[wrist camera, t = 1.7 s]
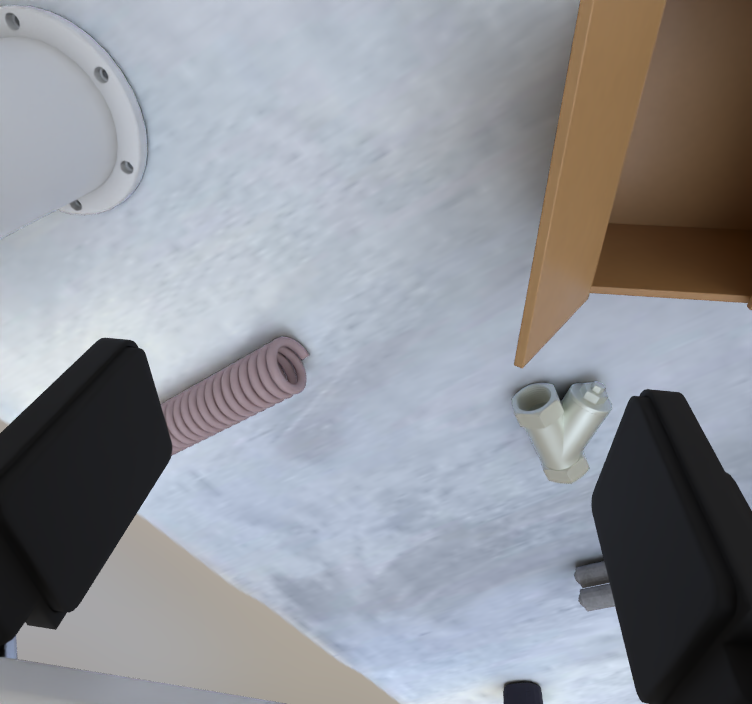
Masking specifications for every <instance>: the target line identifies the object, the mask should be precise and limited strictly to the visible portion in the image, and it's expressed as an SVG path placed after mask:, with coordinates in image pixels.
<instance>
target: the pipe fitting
mask: <svg viewBox="0 0 752 704" xmlns="http://www.w3.org/2000/svg"><path fill="white" fill-rule="evenodd" d="M605 389H606V388H605V385H604V384H602V383H601V382H599V381H594V382H593V383H591V382H588V383H584V384H582V383H575V384H573V385H572V386H571V387H570V389H569V390H568V392H567V393H566V395H565V396H564V398H563V400H562V401H560V398H559V396H558V394H557V391H556V389H555V387H554V385H553V384H548V383H535V384H530V385H528V386H526V387H524V388H523V389H521V390H520V391H519V392H518V393H517V394H516V395H515V396H514V397H513V398H512V399H511V400H512V406H513V410H514V413H515V416H516V418H517V420H518V422H519V424H520V426H521V427H524V428H525V430H526V432H527V434H528V436H529V438H530V440H531V442H532V444H533V446H534V448H535V450H536V452H537V454H538V456H539V458H540V460H541V464H542V467H543V470H544V472H545V474H546V476H547V478H548V480H549V481H552V482H557V483H564V484H572V483H574V482H575V481H577V480H578V479H580V478H581V477H582V476H583V475H584V474H585V473H586V472H587V471H588V470H589V469H590V468H589V465H588V462H587V459H586V457H585V454H584V451H583V449H584V448H585V446H586V445H587V443H588V442H589V441H590V439H591V438H592V436H593V435H594V434H595V432H596V431H597V429H598V428H599V427H600V425H601V424H602V422H603V421H604V420H605V418H606V417H607V415H608V414H609V413H610V411H611V410H612V404H611V402H610V400H609V399H608V395H607V392H606V391H605Z"/></svg>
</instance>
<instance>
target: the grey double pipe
mask: <svg viewBox="0 0 752 704" xmlns="http://www.w3.org/2000/svg"><path fill="white" fill-rule="evenodd" d="M574 576H575V579H576V581H577V582H578V583H579V584H580V585H581V586H582V588H585V589H580V595H579V602H580V604H581V605H582V606H583V607H584V608H585V609H586V610H587V611H592V610H598V609H603V608H608V607H614V606H615V603H614V599H613V595H612V591H611V587H610V584H606V583H609V578H608V574H607V570H606V566H605V562H604V561H602V562H598V563H593V564H589V565H585V566H580V567H576V572H575V573H574ZM601 584H605V585H601ZM596 585H600V586H596ZM591 586H595V587H591ZM586 587H590V588H586Z"/></svg>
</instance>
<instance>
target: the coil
mask: <svg viewBox="0 0 752 704" xmlns="http://www.w3.org/2000/svg"><path fill="white" fill-rule="evenodd" d="M297 355H298V356H299V357H300V358H299V357H298V356H297ZM308 356H309V353H308V352H307V351H306V349H305V348H304V347H303V346H302V345H301V344H300V343H298V342H297V341H295V340H294V339H291V338H288V337H279V338H276V339H274V340H273V341H272V342H270V343H268V344H266V345H264V346H263V347H262V348H259V349H257V350H255V351H254V352H253V353H250V354H248V355H246V356H245V357H244V358H241V359H239V360H238V361H236V362H235V363H232V364H230V365H229V366H228V367H226V368H223V369H222V370H220V371H219V372H216V373H215V374H213V375H212V376H210V377H207V378H206V379H204V380H203V381H201V382H199V383H197V384H196V385H194V386H192V387H190V388H189V389H187V390H185V391H183V392H181V393H180V394H178V395H176V396H174V397H173V398H171V399H169V400H167V401H166V402H164V403H162V404H161V408H162V411H163V414H164V418H165V421H166V425H167V428H168V431H169V435H170V438H171V441H172V455H173V454H176V453H178V452H180V451H182V450H184V449H186V448H187V447H191V446H193V445H194V444H196V443H199V442H200V441H202V440H205V439H207V438H208V437H210V436H213V435H215V434H216V433H218V432H221V431H223V430H224V429H226V428H229V427H231V426H232V425H235V424H237V423H239V422H240V421H243V420H245V419H247V418H249V417H250V416H253V415H256V414H257V413H258V412H262V411H264V410H265V409H266V408H269V407H272V406H274V405H275V404H276V403H280V402H282V401H283V400H284V399H288V398H290V397H292V396H293V395H294V394H298V393H300V392H302V391H303V389H304V388H305V386H306V372H305V369H304V366H303V364H302V362H301V360H303V359H305V358H306V357H308ZM286 357H287V358H286ZM300 359H301V360H300ZM289 361H290V362H291V363H290V362H289ZM279 364H280V365H281V366H280V365H279ZM291 364H292V365H293V366H292V365H291ZM293 367H294V368H293ZM282 368H283V369H282ZM294 369H295V371H294ZM283 370H284V371H285V373H284V371H283ZM295 372H296V373H295ZM285 374H286V375H285ZM296 375H297V377H296ZM286 376H287V378H286ZM287 380H288V381H287ZM172 455H171V456H172Z"/></svg>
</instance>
